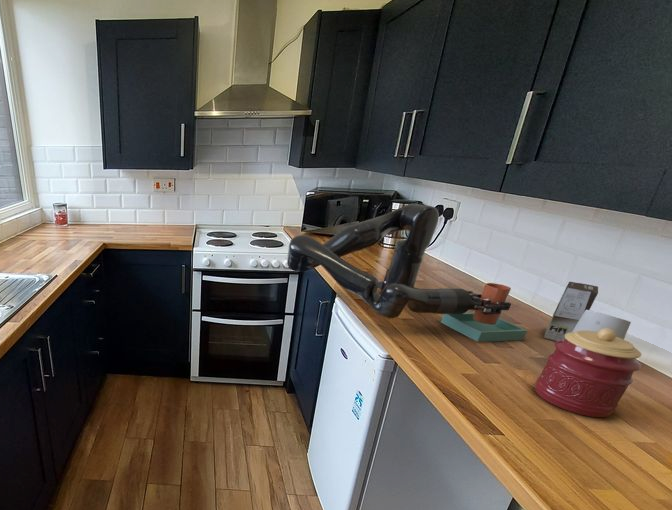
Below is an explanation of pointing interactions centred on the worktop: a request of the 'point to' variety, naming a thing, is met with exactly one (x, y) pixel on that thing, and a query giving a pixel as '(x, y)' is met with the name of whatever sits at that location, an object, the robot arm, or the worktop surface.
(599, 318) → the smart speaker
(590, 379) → the kitchen canister
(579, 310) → the coffee box
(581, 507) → the worktop surface
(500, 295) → the tumbler
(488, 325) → the tray
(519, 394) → the worktop surface
